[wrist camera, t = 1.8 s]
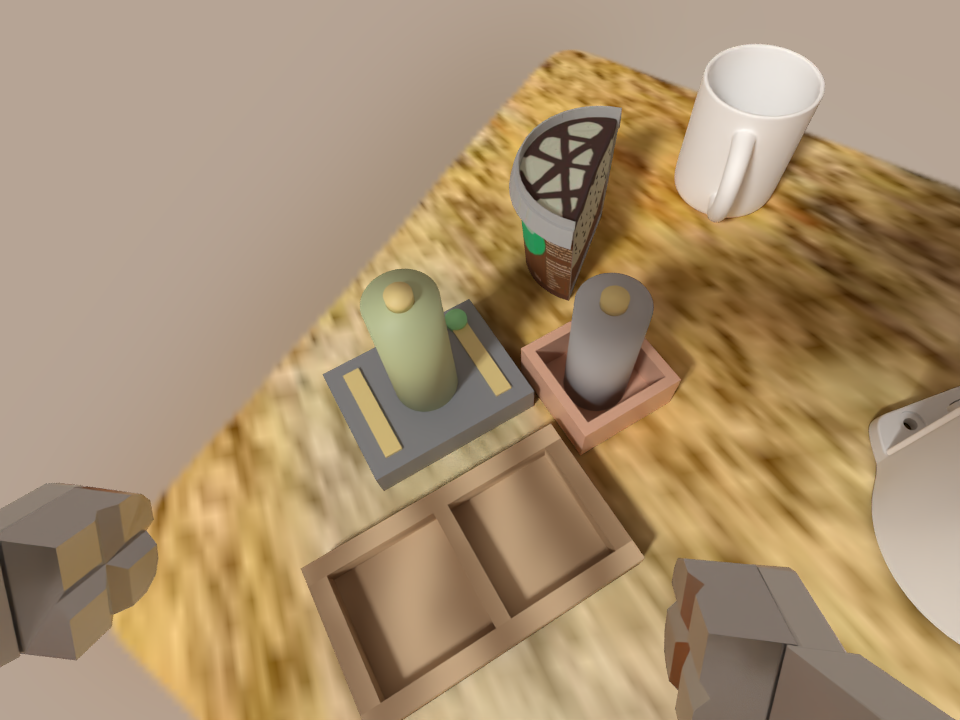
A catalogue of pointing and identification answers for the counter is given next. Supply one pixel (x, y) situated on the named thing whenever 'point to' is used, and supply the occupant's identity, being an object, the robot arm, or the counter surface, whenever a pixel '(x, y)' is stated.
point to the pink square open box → (585, 427)
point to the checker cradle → (434, 434)
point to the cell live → (411, 337)
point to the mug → (745, 128)
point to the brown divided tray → (466, 574)
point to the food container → (563, 191)
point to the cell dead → (605, 339)
